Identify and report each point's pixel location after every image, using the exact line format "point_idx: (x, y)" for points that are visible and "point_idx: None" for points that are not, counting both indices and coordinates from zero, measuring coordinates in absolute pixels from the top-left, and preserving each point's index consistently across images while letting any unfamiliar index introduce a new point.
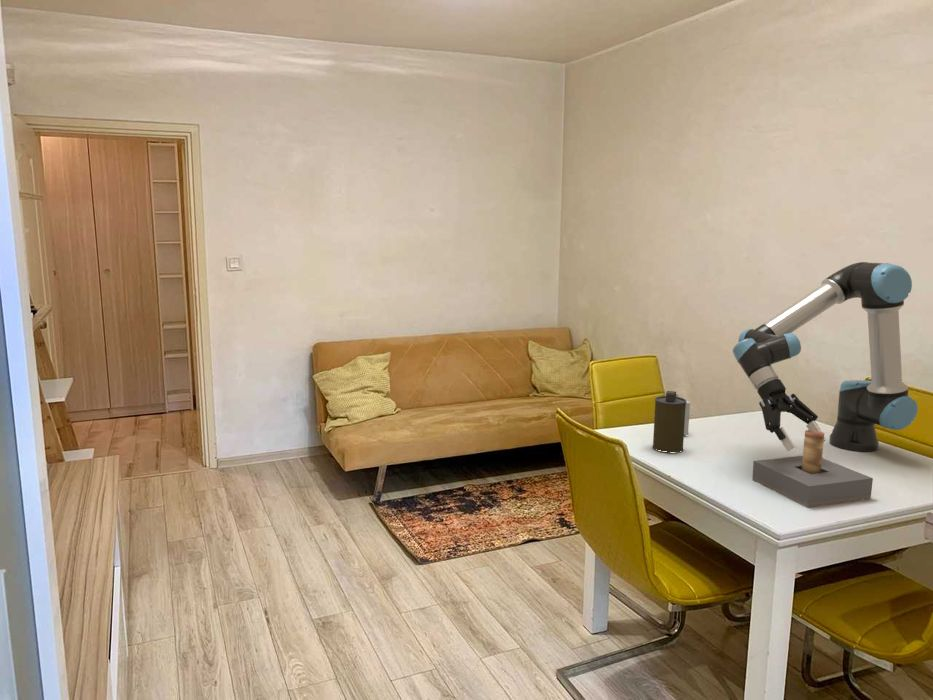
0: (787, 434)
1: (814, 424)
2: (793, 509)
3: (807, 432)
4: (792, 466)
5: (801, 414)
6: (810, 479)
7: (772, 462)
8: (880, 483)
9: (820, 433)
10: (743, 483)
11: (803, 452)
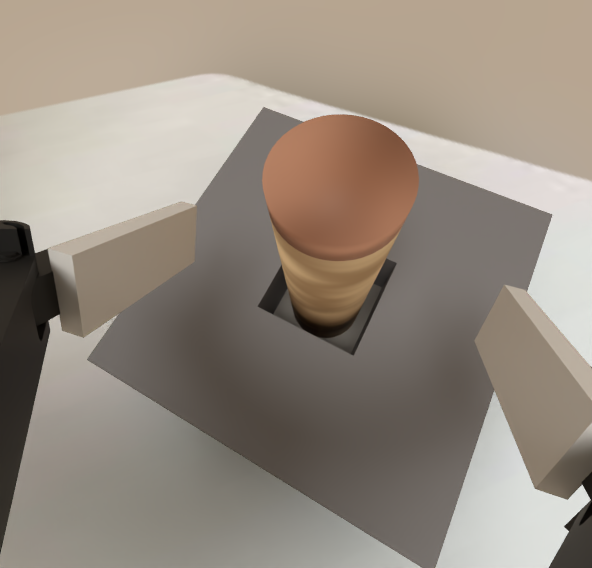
0: (556, 345)
1: (106, 242)
2: (561, 275)
3: (389, 214)
4: (355, 360)
5: (9, 369)
6: (467, 239)
7: (373, 467)
8: (112, 178)
9: (331, 137)
10: (477, 540)
11: (361, 292)
